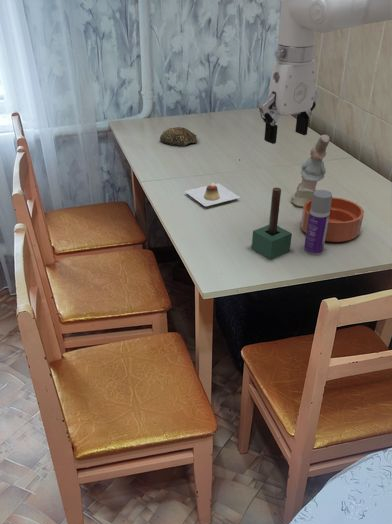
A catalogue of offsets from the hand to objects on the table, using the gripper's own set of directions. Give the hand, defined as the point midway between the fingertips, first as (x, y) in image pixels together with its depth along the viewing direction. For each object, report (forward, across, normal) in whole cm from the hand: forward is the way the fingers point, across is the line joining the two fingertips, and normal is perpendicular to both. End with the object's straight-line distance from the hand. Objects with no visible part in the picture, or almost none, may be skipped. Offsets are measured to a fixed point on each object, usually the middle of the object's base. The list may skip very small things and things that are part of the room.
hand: (285, 137), depth 123 cm
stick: (+26, -4, -3) cm, 27 cm away
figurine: (+26, +24, +12) cm, 37 cm away
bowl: (+26, +16, -4) cm, 31 cm away
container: (+26, +4, -10) cm, 28 cm away
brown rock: (+26, +24, +76) cm, 84 cm away
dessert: (+26, +3, +30) cm, 40 cm away
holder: (+26, -4, -3) cm, 27 cm away
